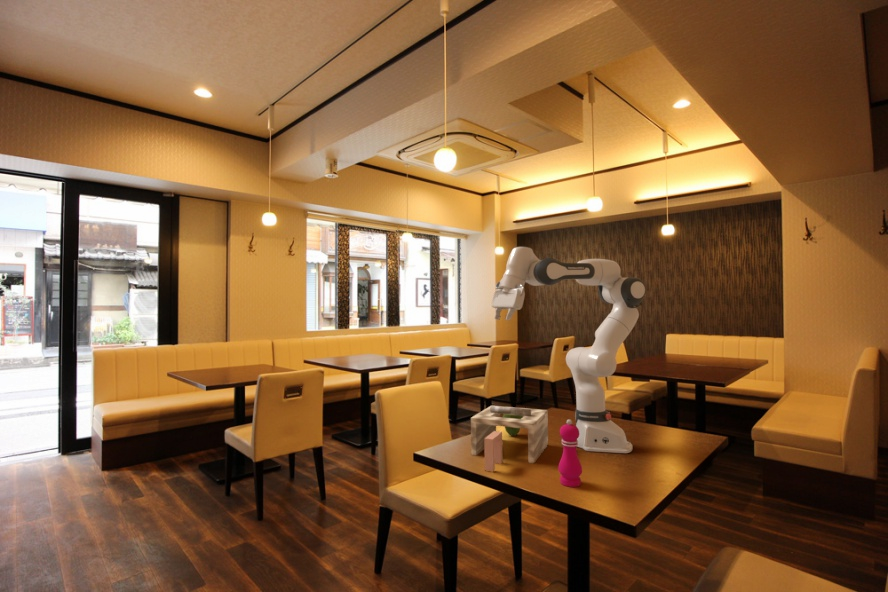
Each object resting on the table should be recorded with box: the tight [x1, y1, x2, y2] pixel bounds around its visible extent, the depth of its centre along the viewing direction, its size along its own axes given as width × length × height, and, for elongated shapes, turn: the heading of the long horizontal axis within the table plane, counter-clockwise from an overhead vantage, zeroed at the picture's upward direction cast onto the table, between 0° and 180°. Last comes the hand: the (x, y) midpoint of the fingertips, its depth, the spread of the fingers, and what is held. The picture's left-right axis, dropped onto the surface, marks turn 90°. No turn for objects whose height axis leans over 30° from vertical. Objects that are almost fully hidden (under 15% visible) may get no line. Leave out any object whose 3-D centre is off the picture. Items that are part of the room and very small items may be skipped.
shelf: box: [470, 405, 549, 464], centre depth 179 cm, size 24×24×16 cm
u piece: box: [484, 430, 503, 472], centre depth 160 cm, size 3×10×11 cm, turn 155°
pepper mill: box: [557, 419, 583, 488], centre depth 144 cm, size 7×7×20 cm
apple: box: [502, 414, 524, 437], centre depth 199 cm, size 9×8×12 cm
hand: (502, 319), depth 175 cm, fingers open, 8 cm apart
